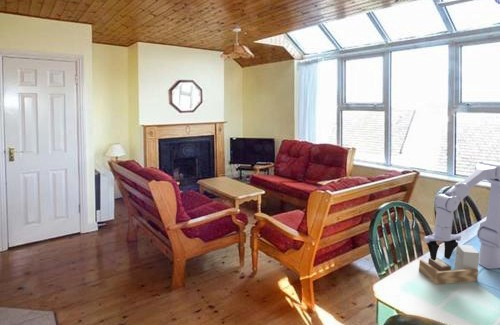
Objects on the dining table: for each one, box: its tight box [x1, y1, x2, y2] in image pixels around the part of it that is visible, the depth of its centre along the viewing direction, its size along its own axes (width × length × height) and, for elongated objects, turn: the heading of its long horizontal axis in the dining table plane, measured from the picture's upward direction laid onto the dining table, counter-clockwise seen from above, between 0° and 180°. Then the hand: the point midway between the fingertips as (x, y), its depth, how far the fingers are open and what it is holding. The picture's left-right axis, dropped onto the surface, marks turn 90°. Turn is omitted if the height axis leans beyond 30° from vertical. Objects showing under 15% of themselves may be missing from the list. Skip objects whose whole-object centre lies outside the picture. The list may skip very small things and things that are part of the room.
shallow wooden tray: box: [418, 259, 479, 285], centre depth 144 cm, size 17×11×4 cm, turn 100°
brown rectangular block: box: [427, 257, 452, 271], centre depth 145 cm, size 4×8×5 cm, turn 10°
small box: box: [453, 244, 480, 271], centre depth 146 cm, size 8×6×10 cm
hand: (440, 258), depth 145 cm, fingers open, 5 cm apart
